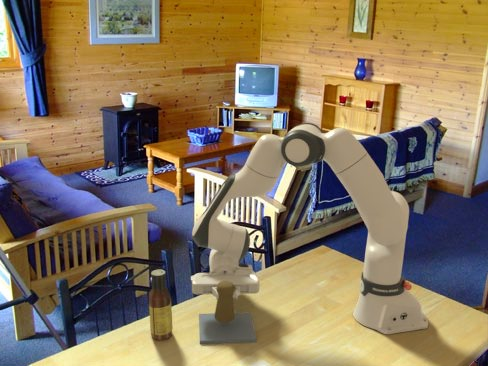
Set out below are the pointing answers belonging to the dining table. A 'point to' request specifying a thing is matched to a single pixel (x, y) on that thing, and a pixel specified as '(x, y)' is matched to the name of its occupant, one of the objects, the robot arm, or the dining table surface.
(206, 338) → the tile
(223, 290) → the cork
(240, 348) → the dining table surface
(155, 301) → the sauce bottle
